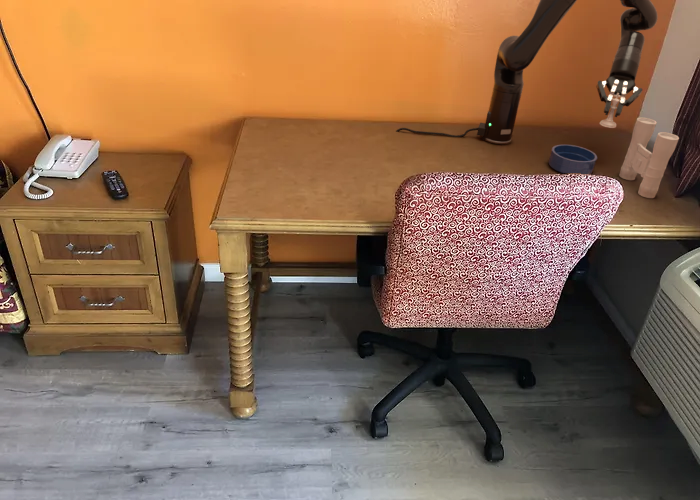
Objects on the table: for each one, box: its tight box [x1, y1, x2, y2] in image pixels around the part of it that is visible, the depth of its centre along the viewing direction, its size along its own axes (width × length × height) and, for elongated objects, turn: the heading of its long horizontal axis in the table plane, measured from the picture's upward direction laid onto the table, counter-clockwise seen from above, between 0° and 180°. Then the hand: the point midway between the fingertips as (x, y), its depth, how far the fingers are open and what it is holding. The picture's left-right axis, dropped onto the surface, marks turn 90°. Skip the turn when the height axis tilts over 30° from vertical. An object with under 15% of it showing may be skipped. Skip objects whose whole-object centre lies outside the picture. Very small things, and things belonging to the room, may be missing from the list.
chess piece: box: [599, 93, 620, 129], centre depth 183 cm, size 5×5×10 cm
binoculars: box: [618, 116, 680, 199], centre depth 175 cm, size 17×5×18 cm, turn 5°
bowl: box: [548, 144, 598, 175], centre depth 186 cm, size 13×13×5 cm
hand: (611, 114), depth 182 cm, fingers closed on chess piece
